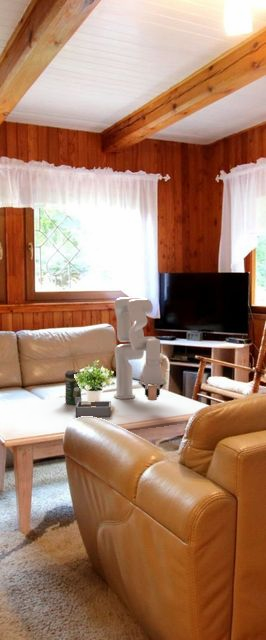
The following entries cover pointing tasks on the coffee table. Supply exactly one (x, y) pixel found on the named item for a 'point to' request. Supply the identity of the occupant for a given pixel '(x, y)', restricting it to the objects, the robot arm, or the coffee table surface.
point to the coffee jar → (72, 388)
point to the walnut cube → (86, 404)
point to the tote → (94, 409)
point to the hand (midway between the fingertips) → (152, 396)
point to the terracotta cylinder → (152, 392)
